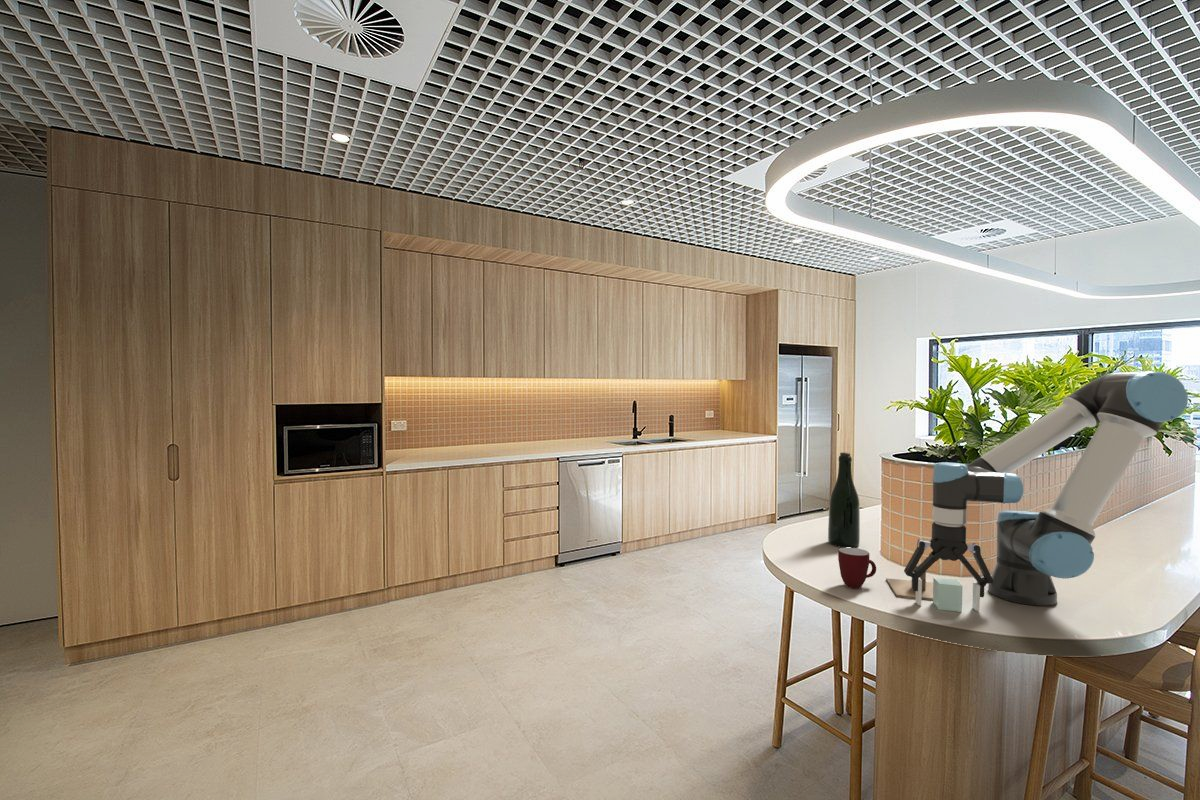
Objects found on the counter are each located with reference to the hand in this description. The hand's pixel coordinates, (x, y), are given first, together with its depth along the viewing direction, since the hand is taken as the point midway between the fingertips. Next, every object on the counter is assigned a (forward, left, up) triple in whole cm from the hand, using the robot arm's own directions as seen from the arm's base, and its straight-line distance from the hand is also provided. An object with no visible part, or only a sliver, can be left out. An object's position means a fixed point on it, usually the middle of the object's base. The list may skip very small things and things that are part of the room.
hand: (946, 606), depth 149 cm
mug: (+20, -10, 0) cm, 22 cm away
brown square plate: (+4, -11, 0) cm, 12 cm away
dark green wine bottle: (+18, -56, 0) cm, 59 cm away
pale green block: (0, 0, 0) cm, 0 cm away
